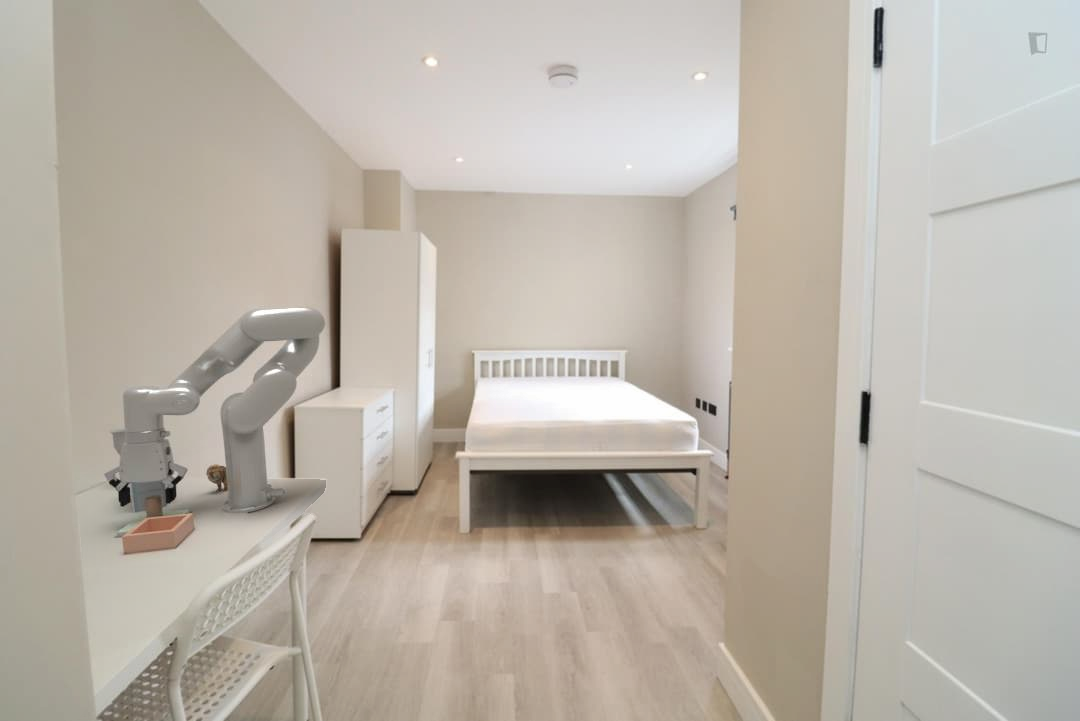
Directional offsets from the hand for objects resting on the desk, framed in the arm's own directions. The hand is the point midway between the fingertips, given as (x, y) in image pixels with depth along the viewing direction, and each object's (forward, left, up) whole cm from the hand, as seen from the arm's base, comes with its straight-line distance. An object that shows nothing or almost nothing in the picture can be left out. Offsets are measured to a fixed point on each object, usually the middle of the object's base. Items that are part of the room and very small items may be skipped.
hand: (148, 503), depth 122 cm
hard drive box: (+8, -18, -6) cm, 21 cm away
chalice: (+21, -35, -6) cm, 42 cm away
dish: (-7, +11, -6) cm, 14 cm away
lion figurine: (-11, -24, -6) cm, 27 cm away
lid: (-1, 0, -6) cm, 6 cm away
